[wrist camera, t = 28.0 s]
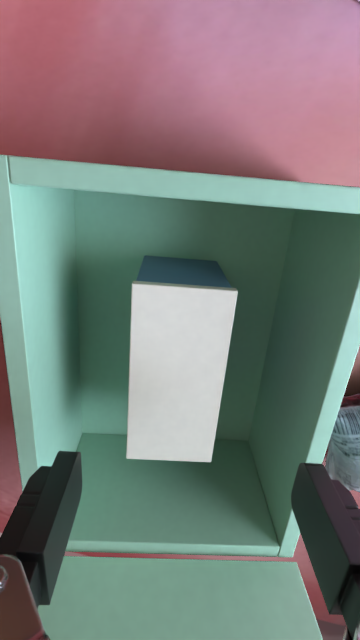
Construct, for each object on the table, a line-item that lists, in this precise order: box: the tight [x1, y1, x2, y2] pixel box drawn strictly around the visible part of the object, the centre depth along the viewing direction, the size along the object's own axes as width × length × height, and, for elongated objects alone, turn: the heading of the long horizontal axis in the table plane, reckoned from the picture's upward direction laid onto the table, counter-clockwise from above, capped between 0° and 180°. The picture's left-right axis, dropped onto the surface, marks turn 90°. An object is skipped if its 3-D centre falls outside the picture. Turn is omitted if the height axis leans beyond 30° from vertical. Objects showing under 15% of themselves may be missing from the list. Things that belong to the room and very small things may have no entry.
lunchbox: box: [0, 155, 360, 557], centre depth 20 cm, size 20×15×9 cm
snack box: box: [126, 255, 238, 462], centre depth 20 cm, size 5×10×6 cm, turn 175°
